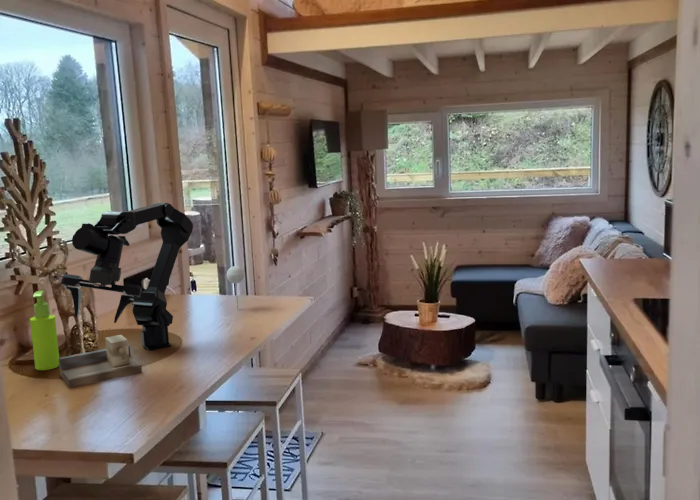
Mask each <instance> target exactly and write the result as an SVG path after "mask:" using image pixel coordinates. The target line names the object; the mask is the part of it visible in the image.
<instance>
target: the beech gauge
mask: <svg viewBox="0 0 700 500" xmlns="http://www.w3.org/2000/svg"><path fill="white" fill-rule="evenodd" d="M104 341H105V349H106V353H107V361H108V362H109V363H110V364H111V365H112V366H118V365H123V364H128V363H130V361H129V350H128V345H129V341H128V339H127V338H126V337H125V336H123V335H122V334H119V335H112V336H107V337H104Z"/></svg>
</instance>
